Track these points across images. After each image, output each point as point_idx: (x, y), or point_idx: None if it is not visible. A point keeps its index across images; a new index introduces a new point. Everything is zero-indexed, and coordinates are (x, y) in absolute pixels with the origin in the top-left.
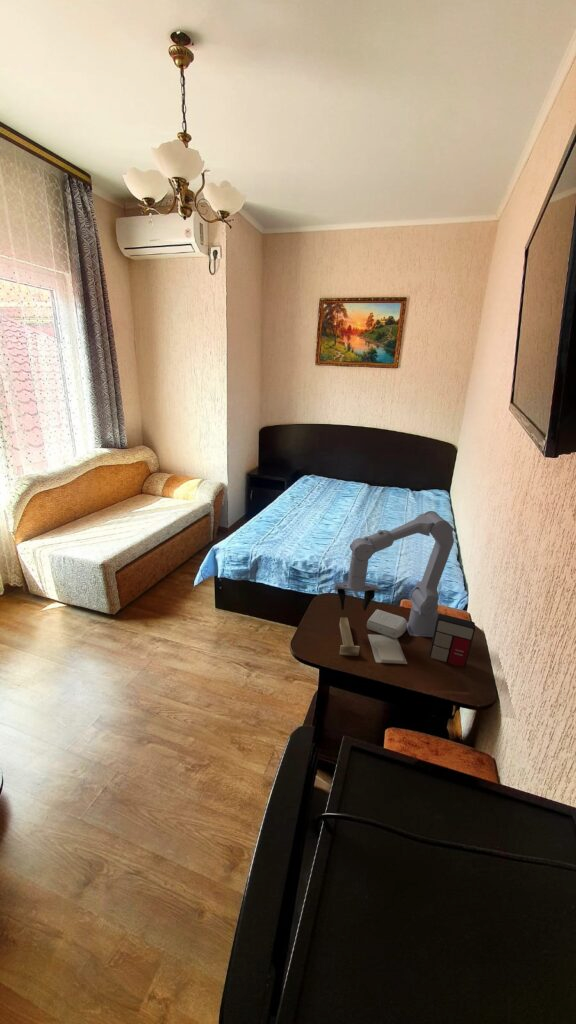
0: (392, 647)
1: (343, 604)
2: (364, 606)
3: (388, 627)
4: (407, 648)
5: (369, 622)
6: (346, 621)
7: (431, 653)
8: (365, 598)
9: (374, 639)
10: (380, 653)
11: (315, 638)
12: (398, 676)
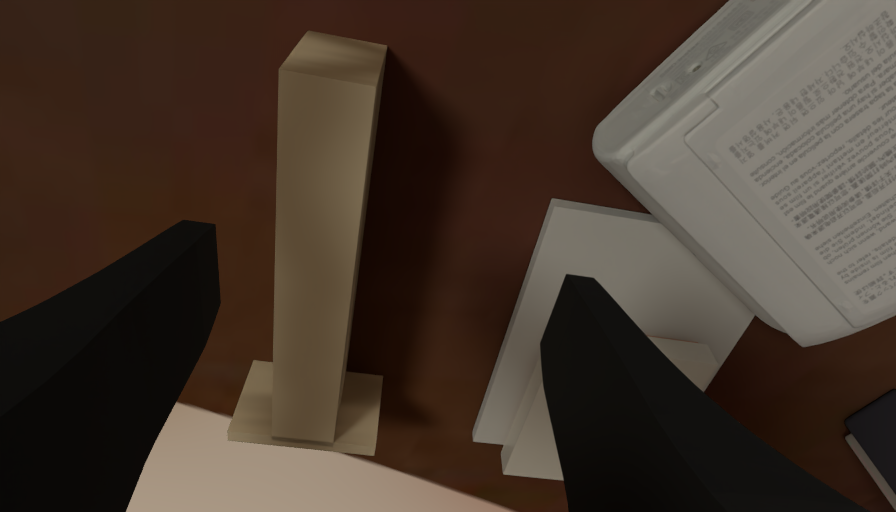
0: None
1: (162, 406)
2: (555, 394)
3: (758, 302)
4: (775, 346)
5: (626, 175)
6: (344, 160)
7: (866, 451)
8: (604, 502)
9: (579, 272)
10: (523, 439)
11: (51, 188)
12: (554, 496)
